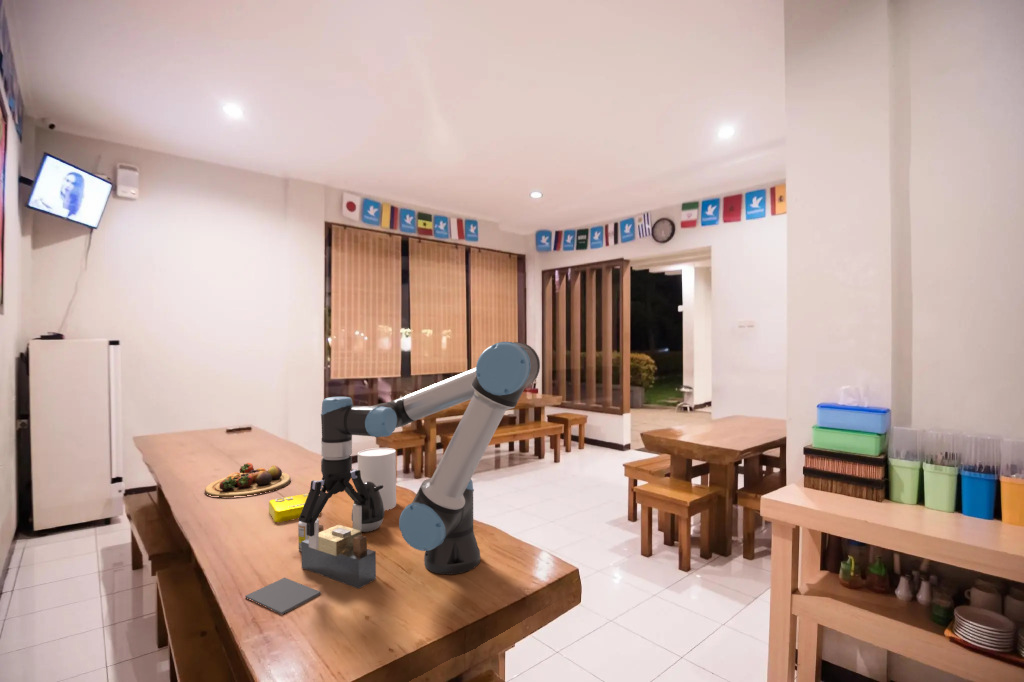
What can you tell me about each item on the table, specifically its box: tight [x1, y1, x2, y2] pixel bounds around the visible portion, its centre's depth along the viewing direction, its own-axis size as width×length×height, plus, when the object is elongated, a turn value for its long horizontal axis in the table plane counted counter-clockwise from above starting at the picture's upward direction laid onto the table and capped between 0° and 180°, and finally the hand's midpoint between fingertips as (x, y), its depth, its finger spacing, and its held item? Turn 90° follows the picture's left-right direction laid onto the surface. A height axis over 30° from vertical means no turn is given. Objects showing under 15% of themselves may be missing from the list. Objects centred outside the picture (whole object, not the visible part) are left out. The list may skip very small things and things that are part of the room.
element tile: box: [268, 492, 309, 523], centre depth 169 cm, size 15×15×5 cm
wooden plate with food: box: [204, 462, 291, 497], centre depth 201 cm, size 32×32×8 cm
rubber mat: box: [244, 577, 322, 616], centre depth 112 cm, size 14×10×1 cm
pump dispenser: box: [351, 482, 385, 533], centre depth 153 cm, size 10×10×15 cm
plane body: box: [301, 524, 377, 589], centre depth 123 cm, size 22×6×11 cm, turn 59°
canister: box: [357, 447, 397, 512], centre depth 174 cm, size 14×14×20 cm
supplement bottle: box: [297, 516, 320, 552], centre depth 138 cm, size 6×6×10 cm
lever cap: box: [316, 524, 363, 556], centre depth 123 cm, size 9×8×4 cm
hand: (336, 538), depth 123 cm, fingers open, 13 cm apart
